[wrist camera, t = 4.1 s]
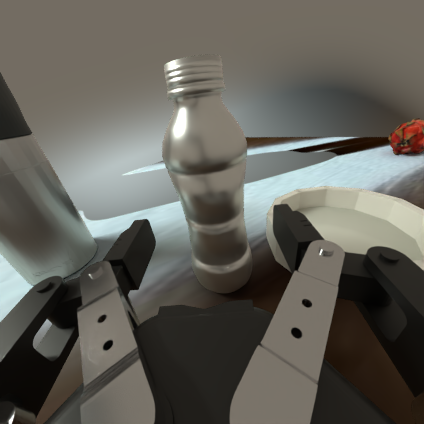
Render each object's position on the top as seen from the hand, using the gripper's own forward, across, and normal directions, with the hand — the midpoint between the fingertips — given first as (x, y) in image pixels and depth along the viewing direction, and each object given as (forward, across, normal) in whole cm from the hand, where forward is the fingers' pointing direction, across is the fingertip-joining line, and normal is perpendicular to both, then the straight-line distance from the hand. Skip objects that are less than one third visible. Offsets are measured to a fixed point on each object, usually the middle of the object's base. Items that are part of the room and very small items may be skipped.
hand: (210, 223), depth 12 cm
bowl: (+9, -15, +11) cm, 21 cm away
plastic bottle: (+5, 0, +11) cm, 12 cm away
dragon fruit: (+39, -49, +11) cm, 64 cm away
